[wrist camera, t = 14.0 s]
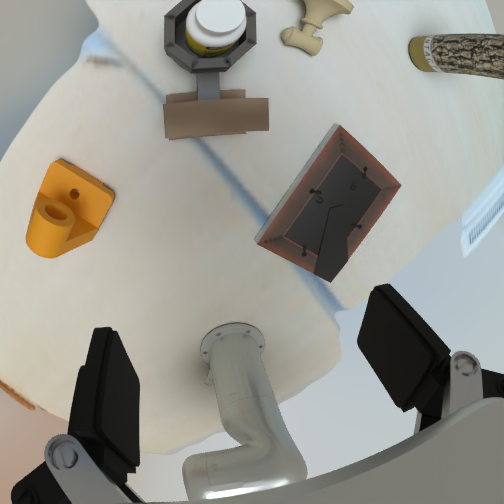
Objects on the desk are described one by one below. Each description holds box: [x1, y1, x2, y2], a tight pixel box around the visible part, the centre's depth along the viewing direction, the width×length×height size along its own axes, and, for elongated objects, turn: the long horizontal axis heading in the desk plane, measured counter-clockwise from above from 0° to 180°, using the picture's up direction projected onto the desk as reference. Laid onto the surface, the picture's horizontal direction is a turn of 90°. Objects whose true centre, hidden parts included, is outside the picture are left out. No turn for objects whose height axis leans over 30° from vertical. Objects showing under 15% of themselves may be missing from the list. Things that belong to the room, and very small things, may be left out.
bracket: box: [26, 159, 115, 258], centre depth 30 cm, size 11×7×12 cm, turn 51°
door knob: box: [282, 0, 354, 56], centre depth 28 cm, size 10×8×8 cm
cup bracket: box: [163, 0, 269, 140], centre depth 26 cm, size 17×10×14 cm, turn 1°
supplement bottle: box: [185, 0, 246, 58], centre depth 21 cm, size 5×5×10 cm
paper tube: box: [409, 34, 504, 79], centre depth 24 cm, size 7×7×25 cm
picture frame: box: [255, 124, 401, 283], centre depth 45 cm, size 16×2×22 cm
